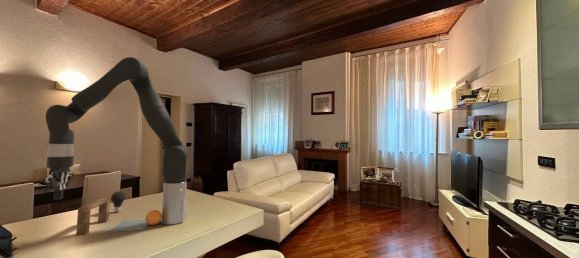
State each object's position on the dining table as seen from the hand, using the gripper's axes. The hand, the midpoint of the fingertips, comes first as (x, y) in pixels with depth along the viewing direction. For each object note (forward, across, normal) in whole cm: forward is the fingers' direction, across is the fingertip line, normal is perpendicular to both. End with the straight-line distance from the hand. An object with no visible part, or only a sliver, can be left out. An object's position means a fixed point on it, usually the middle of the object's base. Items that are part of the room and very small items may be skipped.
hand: (58, 199), depth 90 cm
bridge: (+12, 0, -13) cm, 17 cm away
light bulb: (+12, +20, -12) cm, 26 cm away
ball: (+9, 0, -35) cm, 36 cm away
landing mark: (+12, 0, -27) cm, 29 cm away
